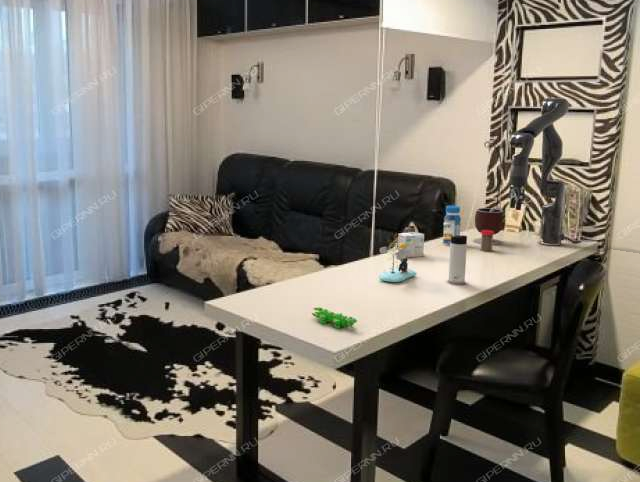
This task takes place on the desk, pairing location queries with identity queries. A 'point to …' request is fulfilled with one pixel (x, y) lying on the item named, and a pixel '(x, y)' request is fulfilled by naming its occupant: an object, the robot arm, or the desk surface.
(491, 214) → the mate gourd
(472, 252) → the desk surface
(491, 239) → the jar
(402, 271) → the penguin figurine
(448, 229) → the blue labeled canister
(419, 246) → the light bulb box
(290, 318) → the desk surface
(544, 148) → the robot arm
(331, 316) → the crocodile figurine
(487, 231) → the lid
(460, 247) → the travel mug
